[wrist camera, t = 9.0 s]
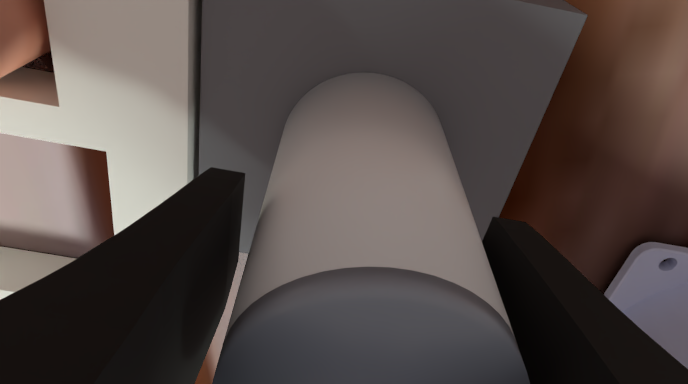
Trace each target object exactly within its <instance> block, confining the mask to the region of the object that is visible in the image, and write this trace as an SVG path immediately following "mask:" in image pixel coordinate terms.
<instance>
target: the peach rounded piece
mask: <svg viewBox="0 0 688 384" xmlns="http://www.w3.org/2000/svg"><path fill="white" fill-rule="evenodd" d="M49 51H51V46H50V39H49V32H48V26H47V19H46V12H45V5H44V0H0V78H1V77H3V76H5V75H7V74H9V73H11V72H13V71H14V70H16V69H18V68H20V67H22V66H24V65H25V64H27V63H29V62H31V61H33V60H35V59H36V58H38V57H40V56H42V55H44V54H46V53H48V52H49Z"/></svg>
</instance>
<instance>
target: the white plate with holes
mask: <svg viewBox="0 0 688 384" xmlns="http://www.w3.org/2000/svg"><path fill="white" fill-rule="evenodd" d="M44 5H45V12H46V19H47V26H48V32H49V39H50V46H51V53H52V60H53V66H54V73H52V72H47V71H41V70H36V69H31V68H25V67H20V68H18V69H16V70H14V71H13V72H11V73H9V74H7V75H5V76H3V77H1V78H0V133H3V134H9V135H14V136H20V137H26V138H32V139H37V140H43V141H49V142H54V143H60V144H66V145H72V146H77V147H83V148H89V149H94V150H100V151H106V154H107V165H108V175H109V185H110V196H111V206H112V216H113V227H114V235H116V234H117V233H119V232H120V231H122V230H123V229H125V228H126V227H128V226H129V225H131V224H132V223H134V222H135V221H137V220H138V219H139V218H141V217H142V216H144V215H145V214H147V213H148V212H150V211H151V210H152V209H154V208H155V207H157V206H158V205H160V204H161V203H162V202H164V201H165V200H166V199H168V198H169V197H170V196H172V195H173V194H175V193H176V192H177V191H179V190H180V189H181V188H183V187H184V186H185V185H187V184H188V183H189V182H191V181H192V180H193V179H195V178H196V177H197V176H199V131H200V85H201V40H202V0H44ZM74 260H76V258H70V257H63V256H57V255H51V254H45V253H38V252H32V251H26V250H20V249H13V248H7V247H1V246H0V300H1V299H3V298H5V297H7V296H9V295H10V294H12V293H14V292H16V291H18V290H20V289H22V288H24V287H26V286H28V285H30V284H32V283H34V282H36V281H38V280H40V279H42V278H44V277H45V276H47V275H49V274H51V273H53V272H54V271H56V270H58V269H60V268H62V267H64V266H65V265H67V264H69V263H71V262H72V261H74Z"/></svg>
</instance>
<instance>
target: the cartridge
mask: <svg viewBox="0 0 688 384" xmlns="http://www.w3.org/2000/svg"><path fill="white" fill-rule="evenodd" d="M212 384H530V381H529V378H528V374H527V371H526V368H525V365H524V362H523V359H522V356H521V354H520V351H519V348H518V345H517V342H516V339H515V336H514V333H513V330H512V328H511V325H510V322H509V319H508V316H507V313H506V310H505V307H504V305H503V302H502V299H501V296H500V293H499V290H498V287H497V284H496V281H495V279H494V276H493V273H492V270H491V267H490V264H489V261H488V258H487V255H486V253H485V250H484V247H483V244H482V241H481V238H480V235H479V232H478V229H477V227H476V224H475V221H474V218H473V215H472V212H471V209H470V206H469V203H468V201H467V198H466V195H465V192H464V189H463V186H462V183H461V180H460V178H459V175H458V172H457V169H456V166H455V163H454V160H453V157H452V154H451V152H450V149H449V146H448V143H447V140H446V137H445V134H444V131H443V128H442V126H441V123H440V120H439V118H438V116H437V114H436V112H435V110H434V109H433V107H432V105H431V104H430V103H429V102H428V100H427V99H426V98H425V97H424V96H423V95H422V94H421V93H420V92H418V91H417V90H416V89H415V88H413V87H412V86H410V85H408V84H407V83H405V82H403V81H401V80H399V79H396V78H394V77H390V76H387V75H383V74H377V73H366V72H360V73H349V74H345V75H340V76H337V77H334V78H331V79H328V80H326V81H324V82H322V83H320V84H319V85H317V86H316V87H314V88H313V89H311V90H310V91H308V92H307V93H306V94H305V95H304V96H303V97H302V98H301V99H300V100H299V101H298V103H297V104H296V105H295V106H294V108H293V109H292V111H291V113H290V114H289V117H288V119H287V121H286V124H285V127H284V130H283V134H282V137H281V141H280V145H279V148H278V152H277V155H276V159H275V162H274V166H273V169H272V173H271V176H270V180H269V184H268V187H267V191H266V194H265V198H264V201H263V205H262V208H261V212H260V215H259V219H258V223H257V226H256V230H255V233H254V237H253V240H252V244H251V247H250V251H249V254H248V258H247V262H246V265H245V269H244V272H243V276H242V279H241V283H240V286H239V290H238V293H237V297H236V301H235V304H234V308H233V311H232V315H231V318H230V322H229V325H228V329H227V332H226V336H225V340H224V343H223V347H222V350H221V354H220V357H219V361H218V364H217V368H216V371H215V375H214V379H213V383H212Z"/></svg>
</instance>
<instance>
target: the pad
mask: <svg viewBox="0 0 688 384" xmlns="http://www.w3.org/2000/svg"><path fill="white" fill-rule="evenodd" d="M587 16H588V15H587V14H585V13H583V12H582V11H580V10H579V9H577V8H575V7H574V6H572V5H570V4H569V3H567V2H566V1H564V0H202V40H201V85H200V131H199V175H200V174H202V173H203V172H204V171H206V170H207V169H209V168H210V167H213V168H219V169H225V170H231V171H236V172H242V173H245V184H244V196H243V208H242V220H241V232H240V244H239V252H242V253H248V254H249V251H250V247H251V244H252V240H253V237H254V233H255V230H256V226H257V223H258V219H259V215H260V212H261V208H262V205H263V201H264V198H265V194H266V191H267V187H268V184H269V180H270V176H271V173H272V169H273V166H274V162H275V159H276V155H277V152H278V148H279V145H280V141H281V137H282V134H283V130H284V127H285V124H286V121H287V119H288V117H289V114H290V113H291V111H292V109H293V108H294V106H295V105H296V104H297V103H298V101H299V100H300V99H301V98H302V97H303V96H304V95H305V94H306V93H307V92H308V91H310V90H311V89H313V88H314V87H316V86H317V85H319V84H320V83H322V82H324V81H326V80H328V79H331V78H334V77H337V76H340V75H345V74H349V73H360V72H366V73H377V74H383V75H387V76H390V77H394V78H396V79H399V80H401V81H403V82H405V83H407V84H408V85H410V86H412V87H413V88H415V89H416V90H417V91H418V92H420V93H421V94H422V95H423V96H424V97H425V98H426V99H427V100H428V102H429V103H430V104H431V105H432V107H433V109H434V110H435V112H436V114H437V116H438V118H439V120H440V123H441V126H442V128H443V131H444V134H445V137H446V140H447V143H448V146H449V149H450V152H451V154H452V157H453V160H454V163H455V166H456V169H457V172H458V175H459V178H460V180H461V183H462V186H463V189H464V192H465V195H466V198H467V201H468V203H469V206H470V209H471V212H472V215H473V218H474V221H475V224H476V227H477V229H478V232H479V235H480V238H481V241H482V240H483V238H484V236H485V233H486V231H487V229H488V227H489V224H490V222H491V220H492V217H499V215H500V213H501V211H502V209H503V206H504V204H505V202H506V200H507V197H508V195H509V193H510V190H511V188H512V186H513V184H514V181H515V179H516V177H517V175H518V172H519V170H520V168H521V166H522V163H523V161H524V159H525V156H526V154H527V152H528V150H529V147H530V145H531V143H532V141H533V138H534V136H535V134H536V131H537V129H538V127H539V125H540V122H541V120H542V118H543V116H544V113H545V111H546V109H547V107H548V104H549V102H550V100H551V97H552V95H553V93H554V91H555V88H556V86H557V84H558V82H559V79H560V77H561V75H562V73H563V70H564V68H565V66H566V63H567V61H568V59H569V57H570V54H571V52H572V50H573V48H574V45H575V43H576V41H577V39H578V36H579V34H580V32H581V29H582V27H583V25H584V23H585V20H586V18H587Z"/></svg>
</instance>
